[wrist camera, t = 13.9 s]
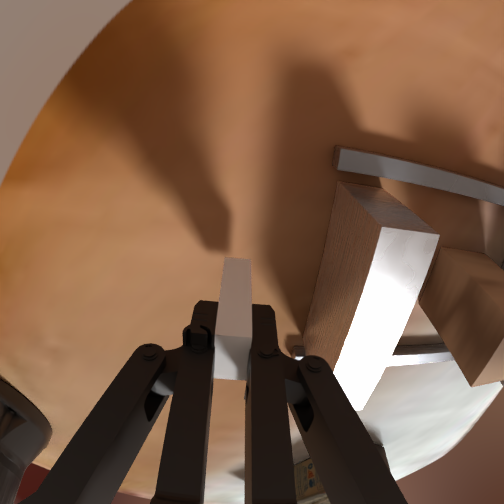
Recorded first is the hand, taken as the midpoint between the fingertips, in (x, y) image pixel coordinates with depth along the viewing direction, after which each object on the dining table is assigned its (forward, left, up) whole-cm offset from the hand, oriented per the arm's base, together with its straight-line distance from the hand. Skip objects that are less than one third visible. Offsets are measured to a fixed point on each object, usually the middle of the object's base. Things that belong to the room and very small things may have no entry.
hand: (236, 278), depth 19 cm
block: (+17, 0, -2) cm, 17 cm away
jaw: (+7, 0, -2) cm, 7 cm away
